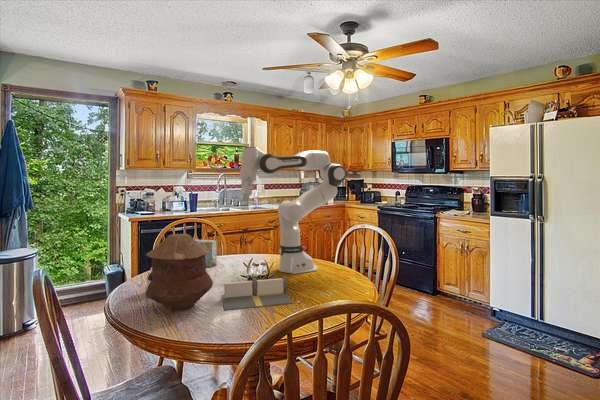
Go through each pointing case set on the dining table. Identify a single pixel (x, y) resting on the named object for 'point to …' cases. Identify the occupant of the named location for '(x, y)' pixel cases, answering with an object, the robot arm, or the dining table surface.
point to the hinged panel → (238, 289)
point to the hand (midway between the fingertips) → (245, 202)
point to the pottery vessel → (178, 273)
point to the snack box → (209, 251)
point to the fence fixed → (269, 286)
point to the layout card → (255, 301)
